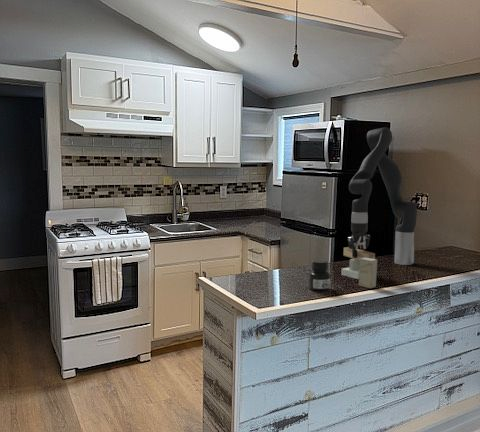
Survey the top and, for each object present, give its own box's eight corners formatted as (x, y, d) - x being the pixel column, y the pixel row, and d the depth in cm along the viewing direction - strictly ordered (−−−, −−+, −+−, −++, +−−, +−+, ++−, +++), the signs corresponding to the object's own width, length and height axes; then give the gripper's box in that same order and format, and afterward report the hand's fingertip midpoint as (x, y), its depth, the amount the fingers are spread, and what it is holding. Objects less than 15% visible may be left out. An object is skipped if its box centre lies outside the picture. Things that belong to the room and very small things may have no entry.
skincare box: (358, 285, 200) (359, 258, 199) (364, 284, 203) (364, 257, 202) (371, 288, 196) (372, 260, 195) (376, 286, 199) (377, 259, 198)
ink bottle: (315, 292, 190) (315, 264, 189) (304, 287, 198) (304, 260, 197) (334, 290, 194) (335, 262, 192) (323, 285, 202) (323, 258, 201)
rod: (350, 254, 228) (350, 246, 227) (374, 262, 211) (374, 253, 211) (343, 255, 226) (343, 247, 226) (367, 262, 210) (367, 254, 209)
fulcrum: (358, 271, 227) (358, 255, 226) (374, 275, 219) (375, 259, 218) (341, 274, 220) (341, 258, 219) (357, 279, 212) (357, 262, 211)
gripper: (363, 219, 224) (362, 254, 226) (342, 221, 216) (342, 257, 218) (375, 221, 218) (374, 256, 219) (355, 223, 210) (354, 260, 212)
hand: (358, 257), depth 219 cm, fingers closed on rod, 4 cm apart
